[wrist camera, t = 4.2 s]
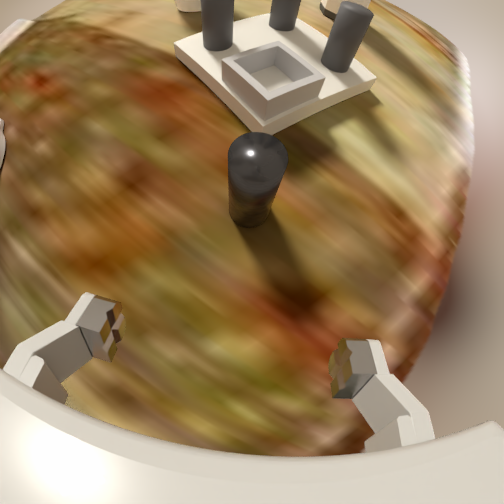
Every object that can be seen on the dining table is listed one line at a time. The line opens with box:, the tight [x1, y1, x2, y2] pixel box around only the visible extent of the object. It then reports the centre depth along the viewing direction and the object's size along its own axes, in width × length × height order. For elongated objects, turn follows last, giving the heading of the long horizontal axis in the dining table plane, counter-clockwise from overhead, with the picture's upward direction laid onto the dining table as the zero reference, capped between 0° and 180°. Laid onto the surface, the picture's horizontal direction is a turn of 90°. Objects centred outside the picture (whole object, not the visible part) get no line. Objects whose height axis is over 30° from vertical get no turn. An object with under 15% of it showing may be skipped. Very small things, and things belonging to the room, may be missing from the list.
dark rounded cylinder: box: [228, 132, 288, 228], centre depth 20 cm, size 4×4×9 cm
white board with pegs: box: [174, 0, 377, 135], centre depth 23 cm, size 18×18×12 cm
